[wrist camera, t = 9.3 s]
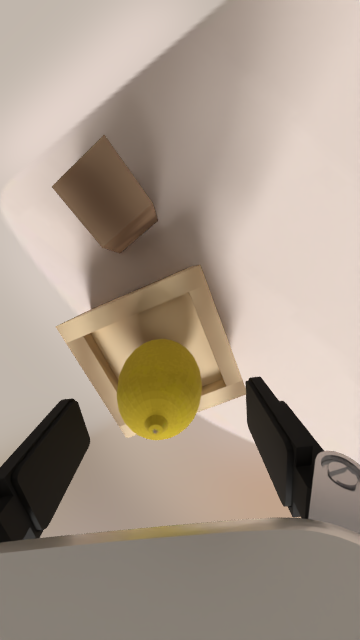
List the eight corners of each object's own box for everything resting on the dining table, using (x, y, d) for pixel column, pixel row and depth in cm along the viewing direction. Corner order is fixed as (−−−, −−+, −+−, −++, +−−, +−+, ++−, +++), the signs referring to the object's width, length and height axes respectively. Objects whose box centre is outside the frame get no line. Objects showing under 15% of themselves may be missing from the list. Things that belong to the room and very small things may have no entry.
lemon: (122, 338, 16) (73, 405, 8) (182, 316, 15) (191, 364, 8) (147, 389, 17) (126, 486, 10) (202, 370, 17) (227, 455, 9)
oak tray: (191, 266, 19) (200, 264, 13) (227, 360, 22) (247, 393, 16) (90, 309, 20) (55, 326, 14) (138, 394, 23) (126, 438, 17)
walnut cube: (123, 173, 17) (104, 134, 12) (158, 220, 18) (152, 203, 13) (84, 209, 18) (51, 186, 13) (120, 253, 19) (102, 247, 14)
